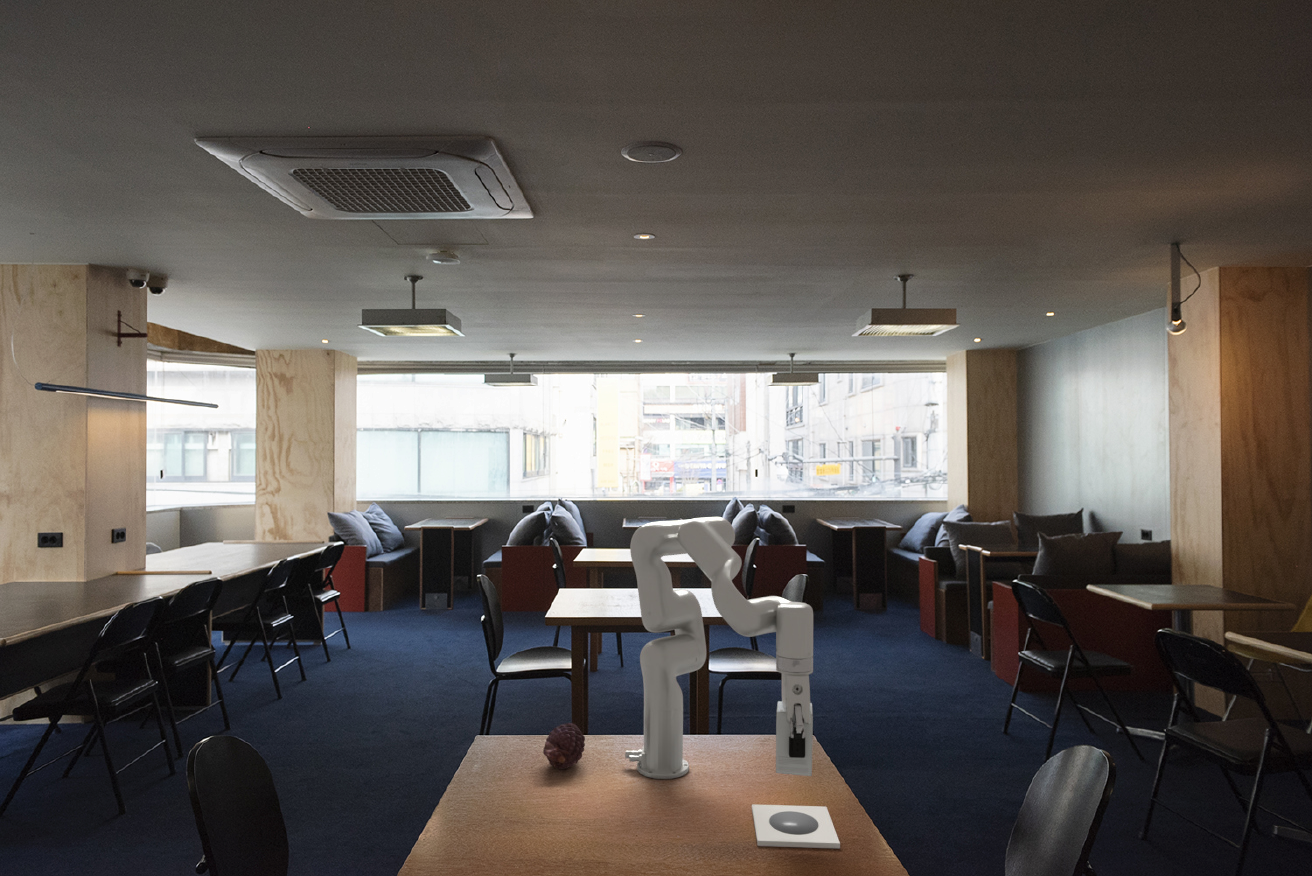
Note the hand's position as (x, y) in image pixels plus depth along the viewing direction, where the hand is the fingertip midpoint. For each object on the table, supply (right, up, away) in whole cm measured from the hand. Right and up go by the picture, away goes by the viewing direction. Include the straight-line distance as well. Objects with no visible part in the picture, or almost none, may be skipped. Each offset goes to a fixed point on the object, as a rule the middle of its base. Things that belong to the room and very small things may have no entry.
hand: (794, 748), depth 164 cm
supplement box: (0, -4, 0) cm, 4 cm away
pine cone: (-51, -16, +31) cm, 62 cm away
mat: (0, -16, 0) cm, 16 cm away
